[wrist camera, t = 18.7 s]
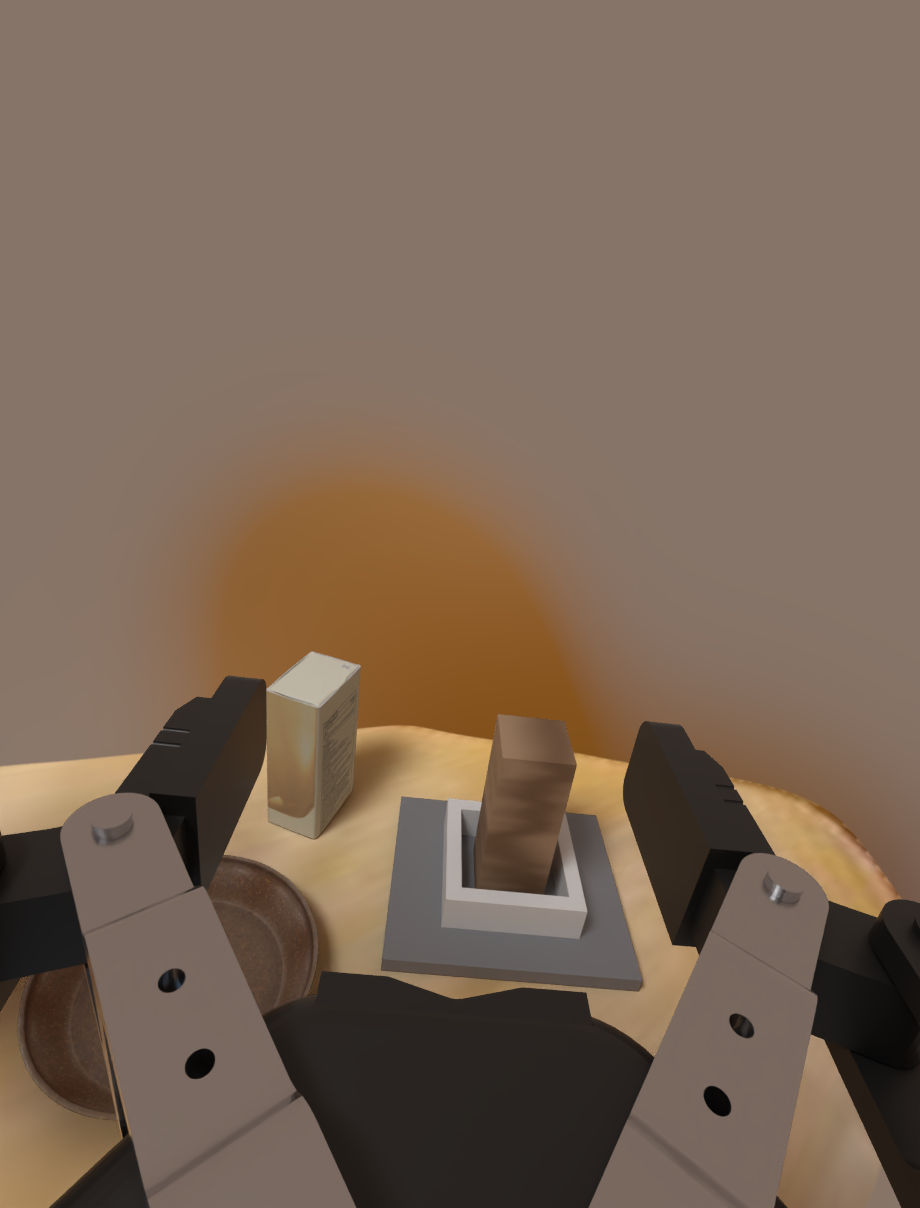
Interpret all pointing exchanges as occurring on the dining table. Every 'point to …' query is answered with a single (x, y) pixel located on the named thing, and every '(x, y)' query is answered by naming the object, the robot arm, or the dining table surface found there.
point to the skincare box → (311, 742)
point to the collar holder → (503, 907)
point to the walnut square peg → (522, 804)
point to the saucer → (262, 948)
